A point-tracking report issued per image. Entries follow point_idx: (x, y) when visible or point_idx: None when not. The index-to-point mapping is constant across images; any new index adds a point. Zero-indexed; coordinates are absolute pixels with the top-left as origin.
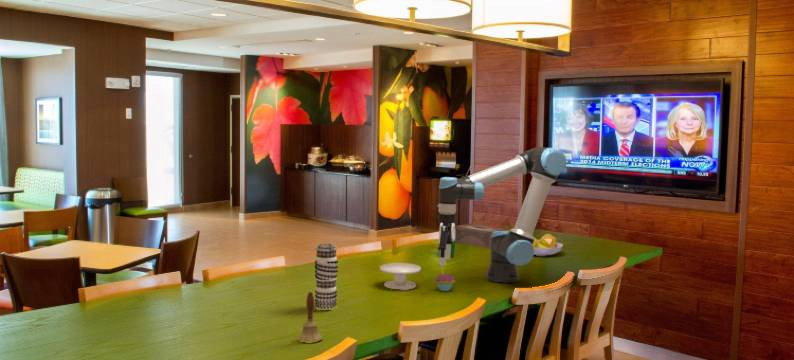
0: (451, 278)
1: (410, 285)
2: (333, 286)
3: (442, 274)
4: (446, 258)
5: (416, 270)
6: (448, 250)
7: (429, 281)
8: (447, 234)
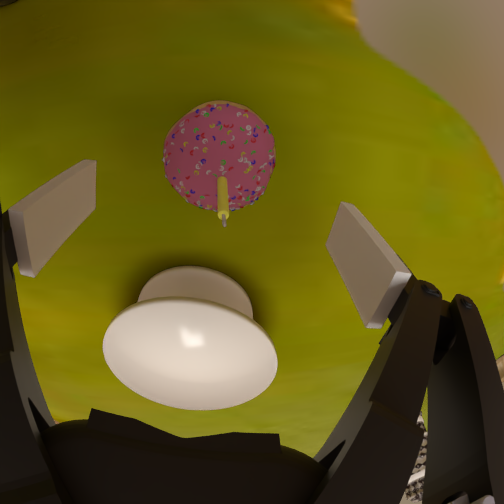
0: (254, 125)
1: (207, 288)
2: (420, 423)
3: (226, 182)
4: (95, 190)
5: (237, 320)
6: (61, 203)
7: (88, 216)
8: (407, 446)
